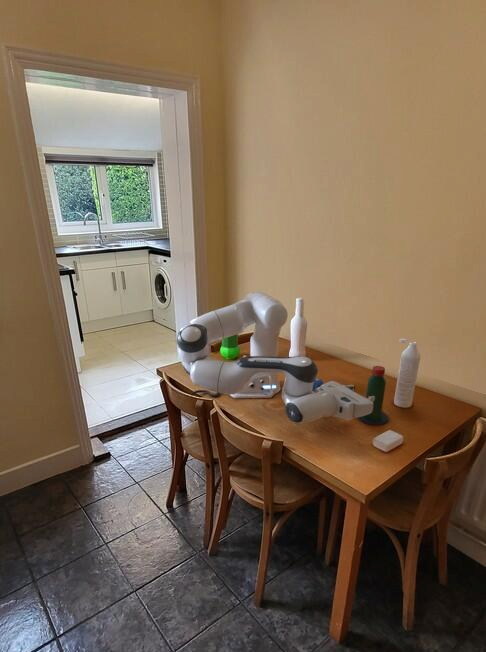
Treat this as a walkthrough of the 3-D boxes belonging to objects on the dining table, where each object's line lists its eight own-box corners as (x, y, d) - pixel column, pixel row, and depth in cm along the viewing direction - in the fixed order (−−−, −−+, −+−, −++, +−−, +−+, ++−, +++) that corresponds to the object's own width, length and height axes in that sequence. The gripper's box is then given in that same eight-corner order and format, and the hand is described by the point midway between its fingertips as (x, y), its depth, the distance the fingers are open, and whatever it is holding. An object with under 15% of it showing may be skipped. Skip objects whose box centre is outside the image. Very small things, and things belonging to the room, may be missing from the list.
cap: (375, 377, 139) (376, 370, 138) (369, 372, 142) (370, 366, 141) (386, 375, 140) (387, 369, 139) (380, 371, 143) (381, 365, 142)
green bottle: (368, 421, 145) (375, 373, 137) (360, 413, 150) (366, 366, 142) (383, 419, 146) (391, 371, 138) (375, 411, 151) (382, 365, 143)
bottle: (306, 361, 198) (310, 300, 186) (289, 361, 199) (292, 300, 186) (304, 355, 206) (307, 296, 193) (288, 355, 206) (290, 296, 193)
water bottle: (415, 405, 157) (427, 343, 146) (403, 409, 154) (415, 346, 143) (396, 396, 163) (406, 336, 153) (385, 400, 160) (394, 339, 150)
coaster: (365, 427, 143) (365, 425, 142) (351, 412, 152) (351, 410, 152) (394, 423, 145) (394, 421, 144) (378, 408, 154) (378, 407, 154)
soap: (388, 436, 137) (389, 428, 136) (403, 443, 133) (404, 435, 132) (371, 445, 132) (372, 437, 131) (386, 453, 128) (387, 445, 127)
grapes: (301, 405, 157) (302, 377, 152) (314, 401, 160) (316, 373, 155) (321, 418, 148) (323, 388, 143) (335, 414, 151) (338, 384, 146)
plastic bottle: (219, 354, 208) (217, 306, 198) (239, 353, 209) (238, 305, 199) (220, 361, 199) (218, 311, 189) (241, 360, 200) (241, 310, 190)
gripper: (311, 397, 145) (341, 389, 151) (351, 423, 128) (383, 412, 134) (312, 381, 142) (343, 373, 148) (353, 405, 126) (386, 395, 132)
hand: (363, 392), depth 141 cm, fingers open, 8 cm apart
